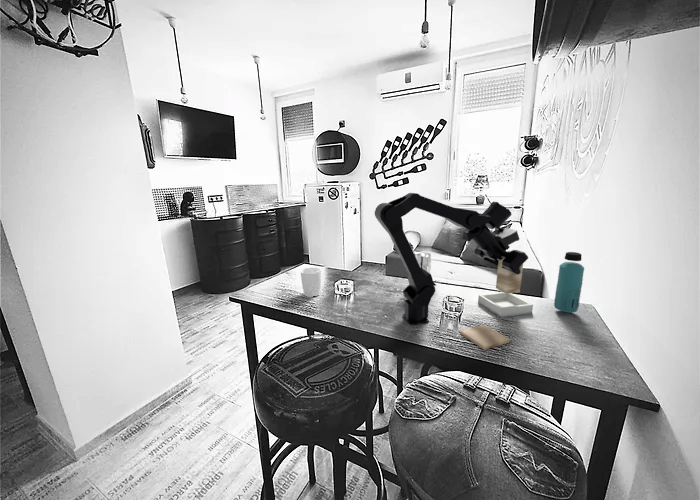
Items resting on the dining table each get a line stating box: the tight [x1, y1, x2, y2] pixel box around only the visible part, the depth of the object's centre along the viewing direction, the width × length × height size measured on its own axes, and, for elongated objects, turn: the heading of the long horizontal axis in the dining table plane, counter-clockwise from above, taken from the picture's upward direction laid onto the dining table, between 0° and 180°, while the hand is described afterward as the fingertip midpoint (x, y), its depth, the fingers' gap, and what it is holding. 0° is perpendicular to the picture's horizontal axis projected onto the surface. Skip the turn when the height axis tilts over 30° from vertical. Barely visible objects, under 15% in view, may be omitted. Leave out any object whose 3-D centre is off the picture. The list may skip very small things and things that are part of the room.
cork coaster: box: [459, 324, 511, 351], centre depth 81 cm, size 9×9×1 cm
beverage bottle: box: [553, 251, 585, 314], centre depth 91 cm, size 6×7×20 cm
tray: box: [477, 291, 534, 318], centre depth 98 cm, size 12×12×3 cm
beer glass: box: [413, 251, 432, 274], centre depth 114 cm, size 7×7×15 cm
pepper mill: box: [495, 250, 524, 294], centre depth 94 cm, size 5×5×13 cm
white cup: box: [300, 267, 322, 298], centre depth 115 cm, size 8×8×10 cm
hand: (513, 270), depth 95 cm, fingers closed on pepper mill, 5 cm apart
